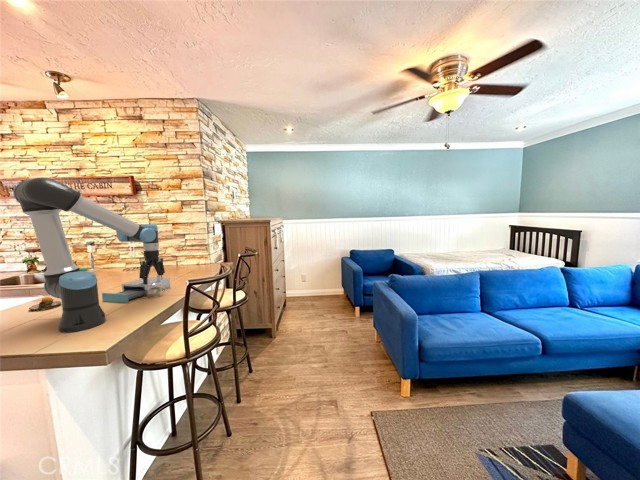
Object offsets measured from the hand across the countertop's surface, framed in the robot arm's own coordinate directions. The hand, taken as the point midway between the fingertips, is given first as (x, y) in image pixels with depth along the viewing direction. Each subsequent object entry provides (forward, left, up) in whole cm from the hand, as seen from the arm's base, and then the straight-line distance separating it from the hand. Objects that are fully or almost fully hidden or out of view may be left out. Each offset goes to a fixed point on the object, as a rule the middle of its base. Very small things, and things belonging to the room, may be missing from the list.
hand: (153, 287), depth 148 cm
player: (+8, +14, -6) cm, 17 cm away
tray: (-4, +14, -5) cm, 15 cm away
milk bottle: (-16, +31, -6) cm, 35 cm away
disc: (0, 0, +1) cm, 1 cm away
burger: (-26, +44, -6) cm, 51 cm away
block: (0, 0, -6) cm, 6 cm away
